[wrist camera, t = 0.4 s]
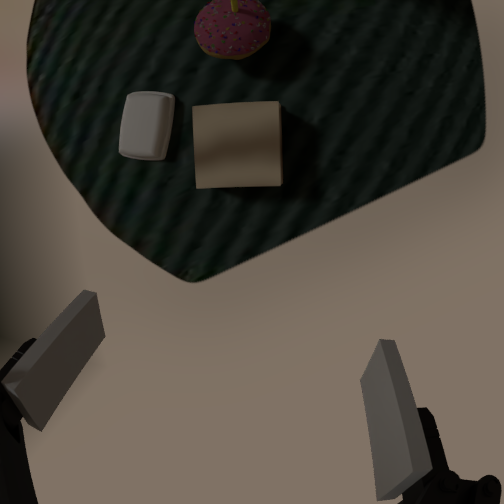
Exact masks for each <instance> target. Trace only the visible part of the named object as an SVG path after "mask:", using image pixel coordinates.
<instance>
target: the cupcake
mask: <svg viewBox="0 0 504 504" xmlns="http://www.w3.org/2000/svg"><path fill="white" fill-rule="evenodd" d="M208 3H209V4H206V6H205V7H204V8H203V9H202V10H200V11H199V12H200V13H199V14H198V15H197V18H196V19H195V22H194V24H195V27H194V33H195V37H196V39H197V42H198V44H199V45H200V47H201V48H202V50H203V51H204V52H205V53H207V54H208V55H210V56H213V57H217V58H222V59H235V60H239V59H243V58H246V57H248V56H250V55H252V54H253V53H255V52H256V51H258V50H259V49H260V48H261V47H262V46H264V45H265V44H266V43H267V42H268V41H269V38H270V31H271V17H270V15H269V13H268V11H267V9H266V8H265V7H264V6H263V5H262V4H261V2H259V1H258V0H214V1H212V2H208Z"/></svg>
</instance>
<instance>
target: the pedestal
mask: <svg viewBox="0 0 504 504" xmlns="http://www.w3.org/2000/svg"><path fill="white" fill-rule="evenodd" d="M193 133H194V154H195V172H196V188H197V189H198V188H219V187H250V186H281V184H283V162H282V126H281V104H279V102H278V101H269V102H243V103H227V104H214V105H203V106H193Z"/></svg>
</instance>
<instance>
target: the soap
mask: <svg viewBox="0 0 504 504" xmlns="http://www.w3.org/2000/svg"><path fill="white" fill-rule="evenodd" d="M174 107H175V96H174V95H172V94H168V93H163V92H153V91H143V92H134V93H131V94H129V95H128V96H127V99H126V103H125V107H124V111H123V116H122V122H121V130H120V141H119V153H121V154H122V155H123V156H125V157H129V158H134V159H140V160H163V159H165V157H166V153H167V149H168V145H169V140H170V135H171V130H172V124H173V116H174ZM168 117H169V118H168ZM165 136H166V137H165Z"/></svg>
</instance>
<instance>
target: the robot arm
mask: <svg viewBox="0 0 504 504" xmlns="http://www.w3.org/2000/svg"><path fill="white" fill-rule="evenodd" d="M104 338H105V333H104V328H103V324H102V319H101V315H100V309H99V304H98V299H97V293H95V292H91V291H87V290H83V291H82V292H81V293H80V294H79V295H78V296H77V297H76V298H75V299H74V300H73V301H72V302H71V303H70V304H69V306H68V307H67V308H66V309H65V310H64V311H63V312H62V313H61V314H60V315H59V316H58V317H57V318H56V320H54V321H53V322H52V324H51V325H50V326H49V327H48V328H47V329H46V330H45V331H44V332H43V333H42V335H41V336H40V337H39V338H38V339H35V338H32V339H30V340H28V341H27V342H25V343H24V344H23V345H22V346H21V347H20V348H19V349H18V351H17V352H16V353H15V354H14V355H13V356H12V358H10V359H9V361H8V362H7V363H6V364H5V365H4V367H3V368H2V369H1V370H0V504H38V501H37V497H36V494H35V490H34V486H33V482H32V478H31V473H30V469H29V464H28V458H27V454H26V448H25V442H24V435H23V427H22V424H21V421H20V420H21V419H22V417H24V418H25V420H26V422H27V423H28V424H29V425H31V426H32V427H34V428H36V429H37V430H39V431H41V432H42V430H43V429H44V427H45V425H46V424H47V422H48V420H49V419H50V417H51V416H52V414H53V413H54V411H55V409H56V408H57V406H58V405H59V403H60V402H61V400H62V399H63V397H64V396H65V394H66V392H67V391H68V390H69V388H70V387H71V385H72V384H73V382H74V381H75V379H76V378H77V376H78V375H79V373H80V372H81V370H82V369H83V367H84V366H85V364H86V363H87V362H88V360H89V359H90V357H91V356H92V355H93V353H94V352H95V350H96V349H97V347H98V346H99V345H100V343H101V342H102V340H103V339H104ZM360 382H361V387H362V393H363V398H364V405H365V411H366V417H367V423H368V430H369V437H370V444H371V452H372V459H373V467H374V476H375V486H376V497H377V501H382V500H390V499H395V498H397V497H398V496H399V495H401V494H402V496H403V500H402V501H401V502H399V503H398V504H500V497H501V484H500V482H499V480H498V479H497V478H496V477H495V476H493V475H486V476H484V477H482V478H481V479H480V480H478V481H472V480H463V479H460V478H459V476H458V475H457V474H456V473H455V472H453V471H450V470H449V467H448V465H447V461H446V457H445V453H444V449H443V446H442V442H441V439H440V438H439V436H440V435H439V432H438V429H437V425H436V422H435V419H434V416H433V415H432V414H431V412H430V411H429V410H428V409H427V408H426V407H425V408H417V407H416V404H415V400H414V397H413V394H412V391H411V387H410V385H409V381H408V378H407V375H406V372H405V369H404V366H403V363H402V360H401V357H400V354H399V352H398V349H397V346H396V343H395V341H394V340H384V339H379V342H378V344H377V346H376V348H375V351H374V353H373V355H372V357H371V359H370V361H369V363H368V366H367V368H366V370H365V372H364V374H363V376H362V378H361V380H360Z"/></svg>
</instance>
